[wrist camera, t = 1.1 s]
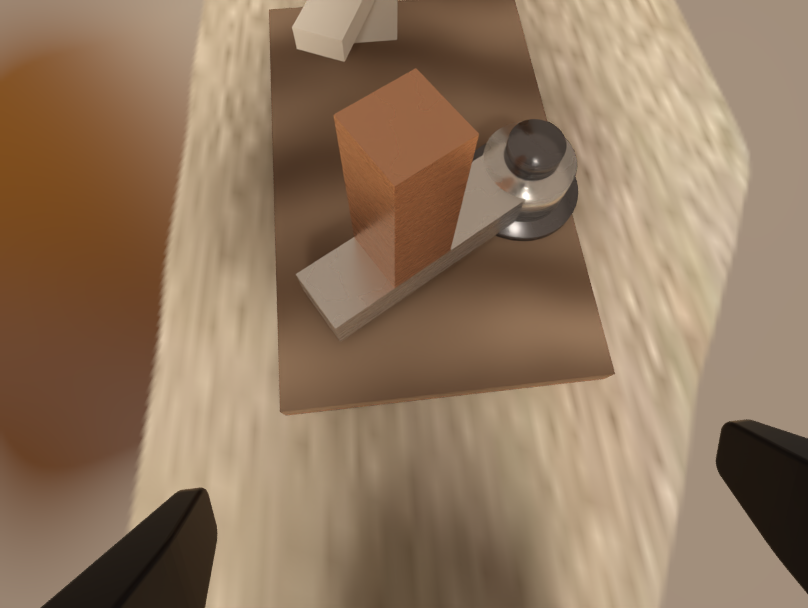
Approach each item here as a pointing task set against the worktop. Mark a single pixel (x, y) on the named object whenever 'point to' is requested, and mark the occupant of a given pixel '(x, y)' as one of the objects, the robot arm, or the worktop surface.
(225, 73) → the worktop surface
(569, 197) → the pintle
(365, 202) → the lever link
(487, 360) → the walnut board
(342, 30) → the block
